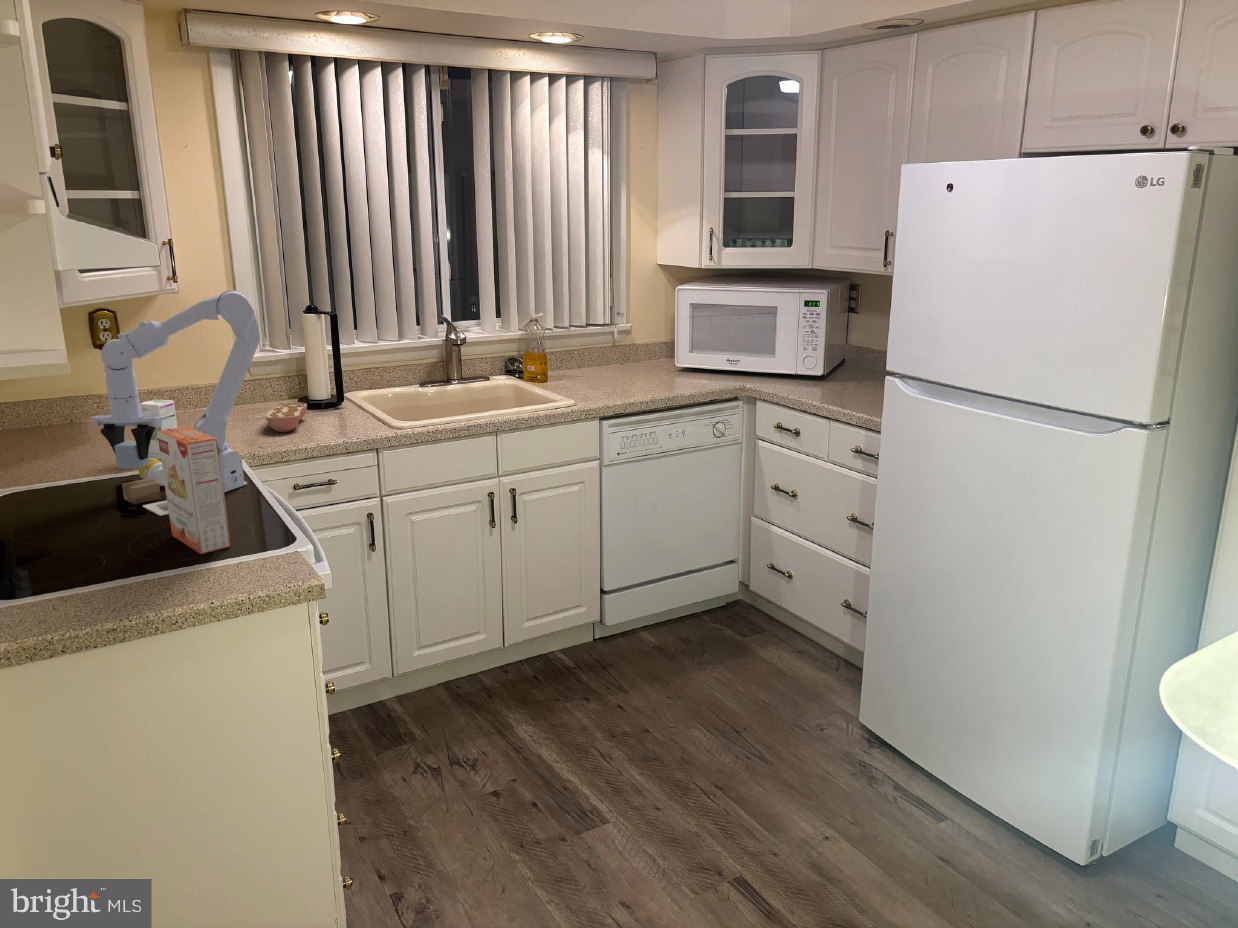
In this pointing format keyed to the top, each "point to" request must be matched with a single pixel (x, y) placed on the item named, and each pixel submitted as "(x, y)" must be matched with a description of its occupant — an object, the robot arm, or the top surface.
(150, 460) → the supplement bottle
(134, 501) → the walnut base
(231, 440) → the top surface
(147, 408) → the syrup box
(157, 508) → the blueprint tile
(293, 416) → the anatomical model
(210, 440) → the cracker box
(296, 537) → the top surface
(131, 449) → the light blue block
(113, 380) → the robot arm
